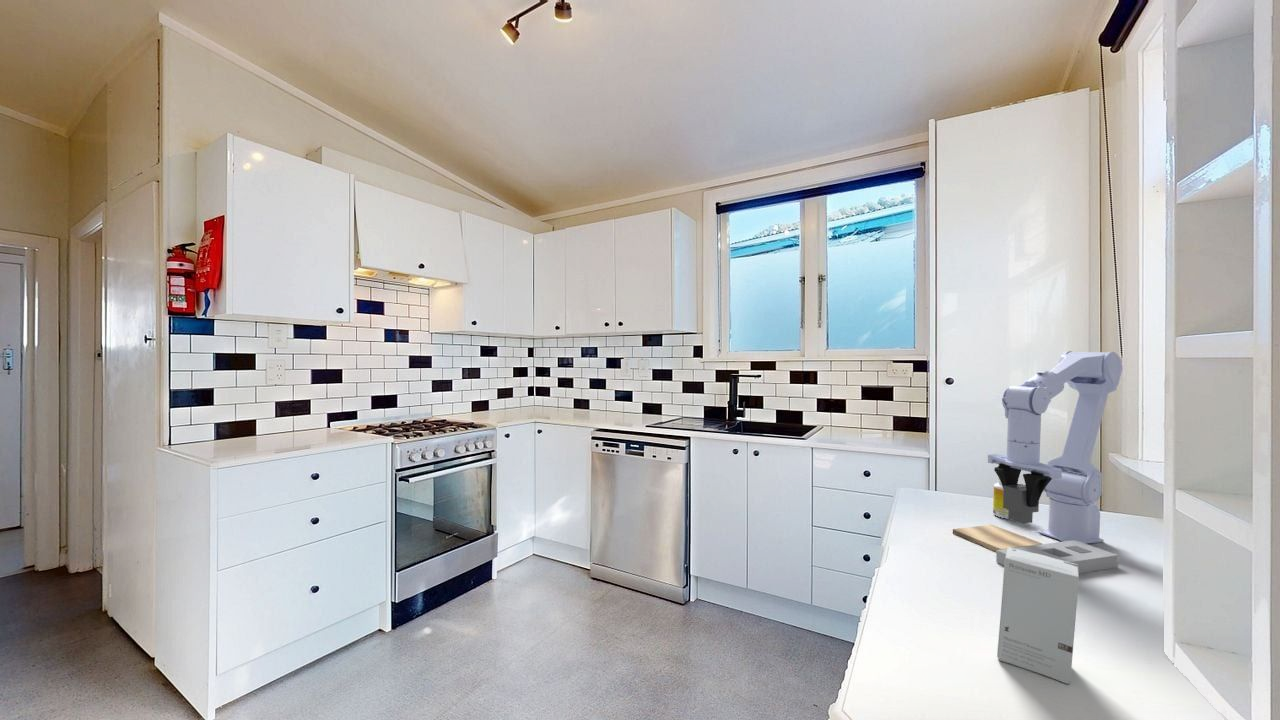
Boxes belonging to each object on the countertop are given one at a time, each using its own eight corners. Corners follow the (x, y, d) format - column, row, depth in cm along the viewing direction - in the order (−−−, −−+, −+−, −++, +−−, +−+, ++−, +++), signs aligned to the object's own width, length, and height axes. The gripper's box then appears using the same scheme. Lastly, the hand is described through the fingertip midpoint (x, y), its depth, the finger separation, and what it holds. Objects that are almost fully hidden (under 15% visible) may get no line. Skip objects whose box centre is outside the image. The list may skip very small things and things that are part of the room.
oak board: (991, 528, 123) (991, 524, 123) (1042, 548, 111) (1042, 543, 111) (952, 533, 120) (952, 529, 120) (1000, 553, 108) (1001, 549, 108)
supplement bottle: (1013, 521, 128) (1015, 481, 128) (989, 515, 133) (990, 476, 132) (1022, 517, 131) (1024, 478, 131) (998, 511, 136) (999, 474, 135)
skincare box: (996, 660, 71) (1000, 557, 71) (1001, 641, 76) (1004, 544, 76) (1075, 687, 66) (1079, 575, 65) (1074, 665, 71) (1078, 560, 70)
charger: (1019, 516, 113) (1020, 483, 112) (1038, 522, 109) (1039, 488, 109) (1002, 518, 111) (1003, 485, 111) (1020, 525, 107) (1022, 490, 107)
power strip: (1074, 551, 110) (1074, 537, 110) (1117, 567, 102) (1118, 552, 102) (996, 562, 104) (996, 547, 104) (1036, 579, 96) (1036, 563, 96)
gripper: (978, 435, 115) (976, 494, 116) (1045, 448, 101) (1042, 515, 102) (1001, 434, 117) (999, 492, 118) (1070, 447, 103) (1067, 512, 104)
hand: (1021, 503), depth 110 cm, fingers closed on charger, 4 cm apart
